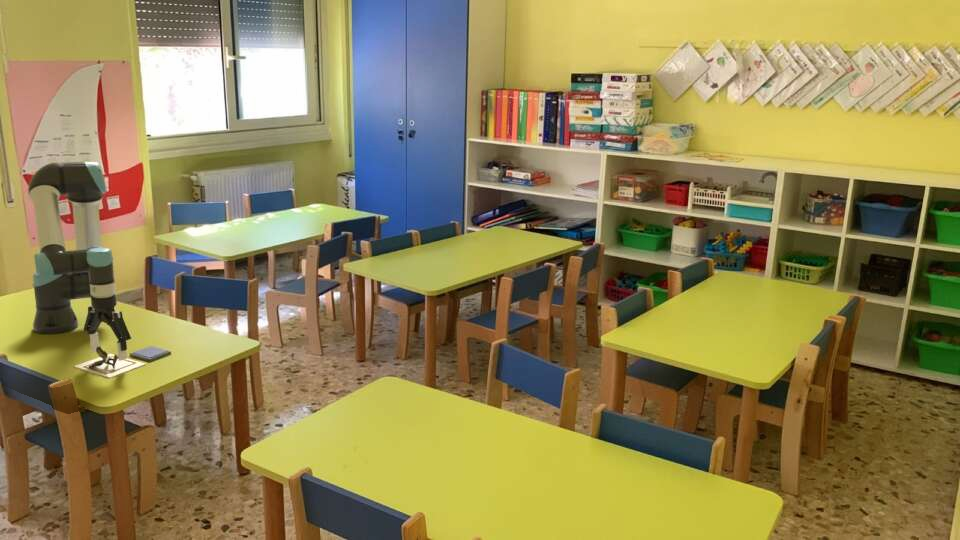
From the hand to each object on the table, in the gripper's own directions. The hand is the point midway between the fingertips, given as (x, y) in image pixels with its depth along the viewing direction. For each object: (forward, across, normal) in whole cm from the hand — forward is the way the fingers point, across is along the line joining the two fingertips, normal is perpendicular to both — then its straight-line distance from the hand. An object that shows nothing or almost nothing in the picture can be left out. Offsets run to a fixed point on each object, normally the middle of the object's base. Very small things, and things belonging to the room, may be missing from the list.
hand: (109, 355), depth 265 cm
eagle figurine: (+4, 0, -2) cm, 4 cm away
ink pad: (+4, +3, +14) cm, 15 cm away
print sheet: (+4, 0, 0) cm, 4 cm away
